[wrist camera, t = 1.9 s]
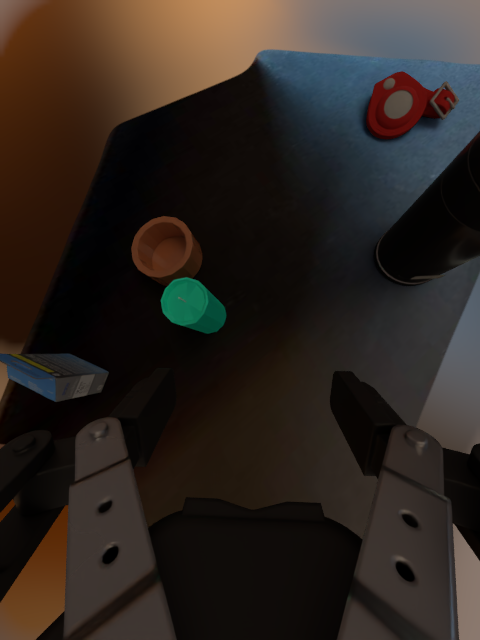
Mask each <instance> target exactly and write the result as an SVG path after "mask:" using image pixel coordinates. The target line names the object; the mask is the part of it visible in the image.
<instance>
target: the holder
mask: <svg viewBox="0 0 480 640" xmlns="http://www.w3.org/2000/svg"><path fill="white" fill-rule="evenodd" d="M132 258H133V261H134V263H135V265H136V266H137V268H138V270H140V271H141V272H143V273H144V274H146V275H147V276H149V277H150V278H152V279H154V280H155V281H157V282H158V283H160V284H162V285H165V286H168V285H169V284H170V283H171V282H172V281H173V280H175V279H180V278H185V277H188V278H191V279H193V278H194V277H195V275H196V274H197V273H198V271H199V269H200V267H201V263H202V251H201V248H200V245H199V243H198V242H197V241H196V239H195V238H194V236H193V235H192V233H191V232H190V230H189V229H188V227H187V226H186V224H185V223H184V222H182V221H180V220H178V219H177V218H175V217H166V216H162V217H159V218H156V219H152V220H150V221H149V222H148V223H146V224H145V225H144V226H142V227H141V228H140V230H139V231H138V233H137V234H136V235H135V237H134V241H133V244H132Z"/></svg>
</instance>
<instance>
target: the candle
mask: <svg viewBox="0 0 480 640" xmlns="http://www.w3.org/2000/svg"><path fill="white" fill-rule="evenodd" d="M161 305H162V310H163V313H164V314H165V316H166V317H167V318H168V319H169V320H170V321H171V322H172V323H175V324H179V325H182V326H185V327H188V328H191V329H194V330H197V331H201V332H204V333H207V334H209V333H213V332H217V331H218V330H219V329H220V328H221V327H222V326H223V325H224V322H225V319H226V311H225V307H224V306H223V305H222V304H221V303H220V302H219V300H218V299H217V298H216V297H215V296H213V295H212V294H211V293H210V292H209V291H208V290H207V289H206V288H205V287H204V286H203V285H202V284H201V283H200V282H199V281H198V280H194V279H191V278H188V277H185V278H180V279H175V280H173V281H172V282H171V283H170V284H169V285H168V286H167V287H166V288H165V291H164V293H163V296H162V298H161Z"/></svg>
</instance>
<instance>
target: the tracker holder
mask: <svg viewBox="0 0 480 640" xmlns="http://www.w3.org/2000/svg"><path fill="white" fill-rule="evenodd" d="M444 87H445V89H446V90H445V89H443V88H444ZM458 101H459V99H458V97H457V96H456V94H455V93H454V91H453V90H452V88H451V87H450V85H449V84H448V82H447V81H446V82H444V83H443V85H442V86H441V87H440V88H438V89H436V90H435V91H434V92H433V91H430V90H428V89H426V88H424V87H423V86H422V85H421V84H420V83H419V82H418V81H416V80H415V79H414V78H412V77H411V76H410V75H408V74H407V73H405V72H397V73H395V74H393V75H391V76H389V77H387V78H385V79H384V80H382V81H380V82H378V83H376V84H375V86H374V90H373V94H372V97H371V99H370V102H369V106H368V111H367V118H366V124H367V127H368V130H369V131H370V132H371V134H373V135H374V136H375V137H377V138H380V139H393V138H397V137H399V136H401V135H403V134H405V133H406V132H408V131H409V130H410V129H411V128H412V127H413V126H414V125H415V124H416V123H417V122H418V120H419V119H420V118H421V116H424V117H428V118H434V119H436V118H441V119H442V120H444V119H445V118H446V117H447V115H448V114H449V113H450V112H451V110H452V109H454V108H455V105H456V104H457V103H458Z"/></svg>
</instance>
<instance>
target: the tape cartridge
mask: <svg viewBox="0 0 480 640" xmlns="http://www.w3.org/2000/svg"><path fill="white" fill-rule="evenodd" d="M0 361H1V362H2V363H5V364H6V365H7V372H8V378H9V379H11V380H14V381H15V382H17V383H20V384H21V385H23V386H25V387H27V388H29V389H31V390H33V391H35V392H37V393H39V394H41V395H43V396H45V397H47V398H49V399H51V400H53V401H55V402H58V401H63V400H67V399H72V398H76V397H81V396H86V395H91V394H95V393H100V392H101V391H102V389H103V387H104V384H105V382H106V379H107V377H108V374H109V372H108V371H106V370H104V369H102V368H100V367H98V366H96V365H93V364H91V363H89V362H87V361H85V360H83V359H80V358H78V357H76V356H74V355H72V354H0Z"/></svg>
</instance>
